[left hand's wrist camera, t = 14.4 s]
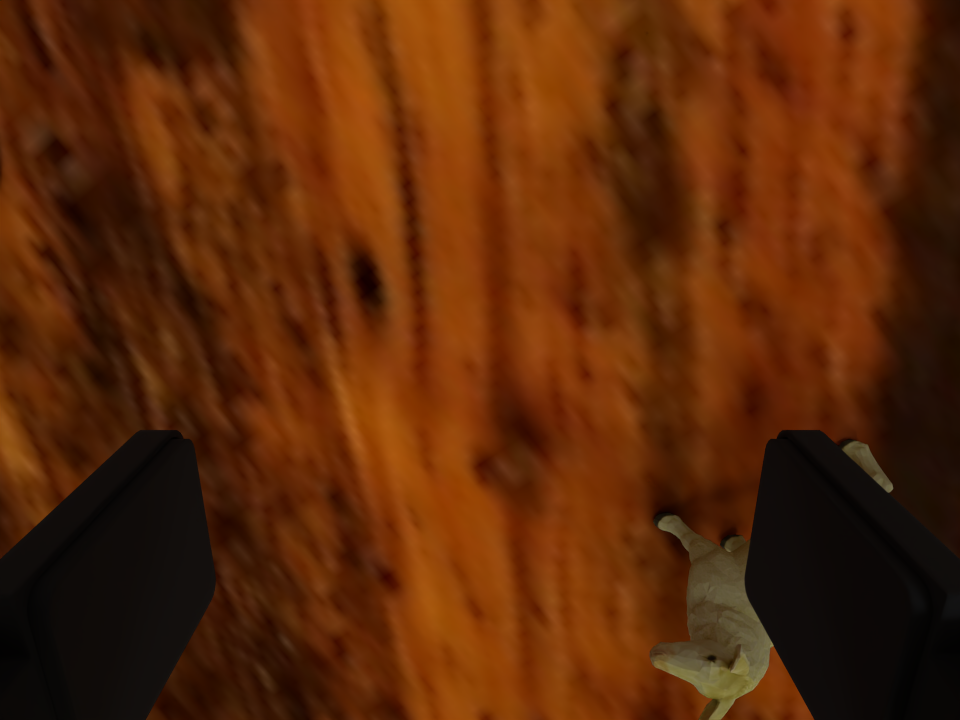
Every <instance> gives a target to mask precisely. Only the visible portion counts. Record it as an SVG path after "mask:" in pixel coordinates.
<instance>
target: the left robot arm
mask: <svg viewBox="0 0 960 720" xmlns="http://www.w3.org/2000/svg"><path fill="white" fill-rule="evenodd" d="M215 583H216V577H215V570H214V564H213V558H212V551H211V545H210V539H209V533H208V527H207V521H206V515H205V509H204V503H203V497H202V491H201V485H200V479H199V473H198V467H197V461H196V454H195V449H194V445H193V443H192V441H191V440H190V439H183V436H182V435H181V433H180V432H179V431H177V430H140V431H138V432H137V433H136V434H134V435H133V436H132V437H131V438H130V439H129V440H128V441H127V442H126V443H125V444H124V445H123V446H122V447H120V448H119V449H118V450H117V451H116V452H115V453H114V454H113V455H112V456H111V457H110V458H109V459H108V460H106V461H105V462H104V463H103V464H102V465H101V466H100V467H99V468H98V469H97V470H96V471H95V472H94V473H93V474H91V475H90V476H89V477H88V478H87V479H86V480H85V481H84V482H83V483H82V484H81V485H80V486H79V487H77V488H76V489H75V490H74V491H73V492H72V493H71V494H70V495H69V496H68V497H67V498H66V499H65V500H63V501H62V502H61V503H60V504H59V505H58V506H57V507H56V508H55V509H54V510H53V511H52V512H51V513H49V514H48V515H47V516H46V517H45V518H44V519H43V520H42V521H41V522H40V523H39V524H38V525H37V526H36V527H34V528H33V529H32V530H31V531H30V532H29V533H28V534H27V535H26V536H25V537H24V538H23V539H22V540H20V541H19V542H18V543H17V544H16V545H15V546H14V547H13V548H12V549H11V550H10V551H9V552H8V553H6V554H5V555H4V556H3V557H2V558H1V559H0V720H146V718H147V716H148V714H149V712H150V711H151V709H152V707H153V705H154V703H155V702H156V700H157V698H158V696H159V694H160V693H161V691H162V689H163V687H164V685H165V683H166V682H167V680H168V678H169V676H170V674H171V673H172V671H173V669H174V667H175V665H176V664H177V662H178V660H179V658H180V656H181V654H182V653H183V651H184V649H185V647H186V645H187V644H188V642H189V640H190V638H191V636H192V635H193V633H194V631H195V629H196V627H197V625H198V624H199V622H200V620H201V618H202V616H203V615H204V613H205V611H206V609H207V607H208V605H209V604H210V602H211V600H212V598H213V595H214V591H215ZM744 583H745V591H746V595H747V598H748V600H749V602H750V604H751V605H752V607H753V609H754V611H755V613H756V615H757V616H758V618H759V620H760V622H761V624H762V625H763V627H764V629H765V631H766V633H767V635H768V636H769V638H770V640H771V642H772V644H773V645H774V647H775V649H776V651H777V653H778V654H779V656H780V658H781V660H782V662H783V664H784V665H785V667H786V669H787V671H788V673H789V674H790V676H791V678H792V680H793V682H794V683H795V685H796V687H797V689H798V691H799V693H800V694H801V696H802V698H803V700H804V702H805V703H806V705H807V707H808V709H809V711H810V712H811V714H812V716H813V718H814V720H960V559H959V558H958V557H957V556H956V555H955V554H954V553H952V552H951V551H950V550H949V549H948V548H947V547H946V546H945V545H944V544H943V543H942V542H941V541H940V540H938V539H937V538H936V537H935V536H934V535H933V534H932V533H931V532H930V531H929V530H928V529H927V528H926V527H924V526H923V525H922V524H921V523H920V522H919V521H918V520H917V519H916V518H915V517H914V516H913V515H912V514H911V513H909V512H908V511H907V510H906V509H905V508H904V507H903V506H902V505H901V504H900V503H899V502H898V501H897V500H895V499H894V498H893V497H892V496H891V495H890V494H889V493H888V492H887V491H886V490H885V489H884V488H883V487H881V486H880V485H879V484H878V483H877V482H876V481H875V480H874V479H873V478H872V477H871V476H870V475H869V474H867V473H866V472H865V471H864V470H863V469H862V468H861V467H860V466H859V465H858V464H857V463H856V462H855V461H854V460H852V459H851V458H850V457H849V456H848V455H847V454H846V453H845V452H844V451H843V450H842V449H841V448H840V447H838V446H837V445H836V444H835V443H834V442H833V441H832V440H831V439H830V438H829V437H828V436H827V435H826V434H824V433H823V432H822V431H820V430H783V431H781V432H780V433H779V435H778V436H777V439H770V440H769V441H768V443H767V445H766V449H765V454H764V461H763V467H762V473H761V479H760V485H759V491H758V497H757V503H756V509H755V515H754V521H753V527H752V533H751V539H750V545H749V551H748V558H747V564H746V570H745V577H744Z"/></svg>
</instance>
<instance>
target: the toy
mask: <svg viewBox="0 0 960 720" xmlns="http://www.w3.org/2000/svg"><path fill="white" fill-rule="evenodd" d="M838 447H840V448H841V449H842V450H843V451H844V452H845V453H846V454H847V455H848V456H849V457H850V458H851V459H852V460H854V461H855V462H856V463H857V464H858V465H859V466H860V467H861V468H862V469H863V470H864V471H865V472H866V473H867V474H869V475H870V476H871V477H872V478H873V479H874V480H875V481H876V482H877V483H878V484H879V485H880V486H881V487H883V488H884V489H885V490H886V491H887V492H891V491H892V489H893V486H892V483H891V482H890V481H889V479H888V478H887V477H886V475H885V474H884V472H883V471H882V470H881V468H880V467H879V465H878V464H877V462H876V461H875V459H874V457H873V456H872V454H871V452H870V450H869V447H868V445H867V444H864V443H861V442H858V441H855V440H851V439H848V440H846V441H843V442H841V444H840V445H839V446H838ZM653 522H654V524H655V526H657V527H658V528H659V529H661V530H664V531H668V532H671V533H673V534H674V535H676V536H677V537H678V538H679V539H680V540H681V542H682V544H683V546H684V547H685V548H686V549H687V550H688V551H689V556H690V561H691V563H692V565H691V568H690V571H689V577H688V587H687V598H686V599H687V615H688V623H687V626H688V628H689V634H690V636H691V641H686V642H674V643H665V642H660V643H659V644H657V645H656V646H654V647H653V648H652V650H651V651H650V659H651V662H652V665H654V666H655V667H656V668H659V669H661V670H663V671H666V672H668V673H670V674H673V675H675V676H677V677H679V678H682V679H684V680H686V681H688V682H690V683H692V684H693V685H694V686H695V687H696V688H697V690H698V691H699V692H700V693H701V694H703V695H704V696H706V697H707V698H712V699H713V700H712V701H711V702H710V703H708V704H707V706H706V707H705V709H704V711H703V712H702V714H701V716H700V718H699V720H720V719H721V718H722V717H723V716H724V715H725V714H726V712H727V711H728V710H729V708H730V707H731V706H732V704H733V702H734V701H735V699H736V698H738V697H740V696H742V695H744V694H746V693H748V692H750V691H752V690H753V689H754V688H755V687H756V685H757V684H758V683H759V681H760V680H761V679H762V677H763V676H764V674H765V672H766V670H767V668H768V666H769V653H770V648H771V647H772V646H774V645H773V644H772V642H771V640H770V638H769V636H768V635H767V633H766V631H765V629H764V627H763V625H762V624H761V622H760V620H759V618H758V616H757V615H756V613H755V611H754V609H753V607H752V605H751V604H750V602H749V600H748V598H747V595H746V591H745V583H744V577H745V570H746V564H747V558H748V551H749V545H750V540H748V541H747V542H746V541H745V539H744V538H743V536H742V535H728V536H726V537H725V538H724V539H723V540H722V541H721V543H720V546H721V547H722V548H724V549H725V550H724V549H722V548H721V547H719V546H718V545H716V544H714V543H712V542H711V541H710V540H707V539H704V538H703V537H702V536H701V535H698V534H696V533H695V532H693V531H692V530H691V529H690V528H689V527H688V526H686V525H685V524H684V523H683V522H682V520H681V519H680V518H679V517H678V516H676V515H673V514H671V513H663V514H659V515H657V516H656V517H655V519H654V521H653ZM726 550H727V551H726Z"/></svg>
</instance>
